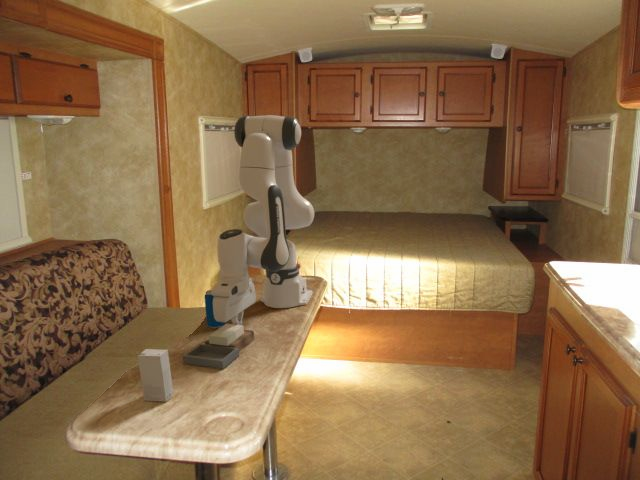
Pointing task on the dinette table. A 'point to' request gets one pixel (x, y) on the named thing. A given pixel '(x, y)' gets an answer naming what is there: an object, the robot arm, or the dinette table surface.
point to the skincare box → (155, 375)
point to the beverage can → (211, 312)
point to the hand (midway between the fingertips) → (237, 325)
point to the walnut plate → (240, 340)
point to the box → (211, 356)
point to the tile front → (222, 337)
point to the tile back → (234, 329)
